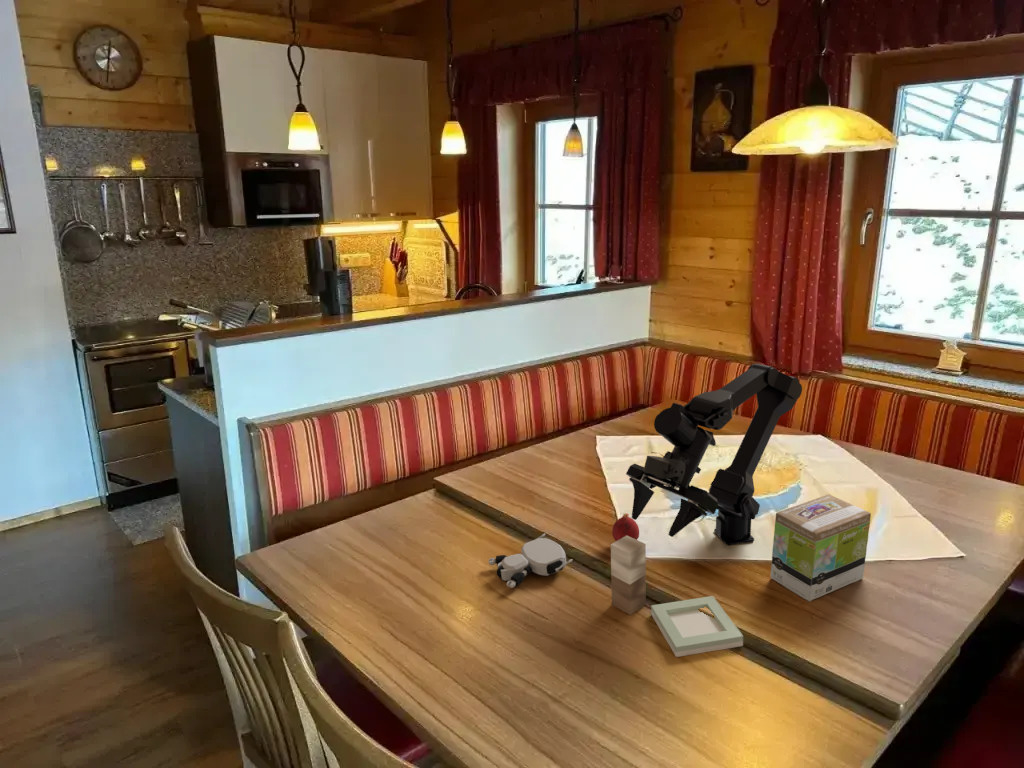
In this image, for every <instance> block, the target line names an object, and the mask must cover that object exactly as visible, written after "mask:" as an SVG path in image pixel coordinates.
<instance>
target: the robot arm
mask: <svg viewBox="0 0 1024 768" xmlns="http://www.w3.org/2000/svg"><path fill="white" fill-rule="evenodd" d="M802 392H803V386H802V384H801V383H800V380H799V378H798V377H796V376H791V375H788V374H785V373H783V372H782V371H779V370H778V369H777V368H775V367H773V366H772V365H771V366H770V365H765V364H761V363H753V364H750V366H749V367H748V369H747V370H746V371H744V372H743V373H741V374H740V375H738V376H737V377H735V378H733V380H731V381H729V382H728V383H726V384H725V385H724V386H722V387H721V388H719V389H717V390H712V391H711V390H710V391H705V392H701V393H699V394H698V395H695V396H694V397H692V398H691V399H690V401H688V402H687V403H686V404H684V405H682V404H680V403H676V402H673V403H672V404H671V406H670V407H668V408H665V409H663V410H661V411H660V412H659V413H658V414H656V417H655V418H654V422H653V425H654V426H653V427H654V429H655V431H656V433H658V434H659V435H660V436H661V437H662V438H664V439H665V440H666V441H667V442H668V443H670V444H671V445H673V446H674V447H673V449H672V451H668V450H667V451H666V452H665V453H664V456H662V457H661V456H657V455H656V456H654V455H646V459H645V463H644V466H642V465H639V464H637V463H633V464H631V465H629V467H628V469H627V471H626V473H625V475H627V476H628V477H629V479H628V480H629V481H630V482H631V484H632V486H633V492H634V493H633V504H632V512H631V518H632V519H633V520H634V521H635V520H637V519H638V518H639V517H640V515H641V514H642V512H643V511H644V509H645V508H646V506H647V504H648V503H649V502H650V501H651V499H652V497H653V495H654V494H655V491H654V490H653V489H654V488H659V489H662V490H664V491H667V492H669V493H671V494H674V495H676V496H679V497H681V498H680V508H679V510H678V512H677V514H676V517H675V518H674V520H673V522H672V524H671V527H670V529H669V531H668V533H667V534H668V536H669V537H671V538H673V537H674V536H676V535H677V534H678V533H680V531H682V530H683V529H684V528H686V527H687V526H688V525H689V524H691V523H692V522H694V521H695V520H697V519H699V518H700V517H702V516H705V517H707V515H708V513H710V514H712V515H715V513H716V511H717V510H718V512H717V513H718V514H717V516H716V517H715V528H714V530H713V531H714V533H715V534H716V535H717V536H718V537H719V538H720V540H721V541H722V542H723V544H725V545H727V546H730V545H737V544H743V543H751V542H754V541H755V537H753V536H752V535H751V532H752V531H751V530H752V520H755V519H756V516H757V515H758V514H759V512H760V508H761V505H760V503H759V502H758V501H757V500H756V499H755V498H754V497H753V496H754V494H755V484H754V478H753V477H754V474H755V472H756V469H757V467H758V465H759V463H760V461H761V460H762V459H761V458H762V457H763V455H764V452H765V450H766V448H767V445H768V443H769V441H770V439H771V437H772V435H773V432H774V430H775V428H776V426H777V424H778V421H779V419H780V418H781V417H782V416H783V415H784V414H786V413H788V412H789V411H790V410H792V409H793V408H794V406H795V405H796V403H797V401H798V399H800V397H801V395H802ZM753 396H756V401H757V408H756V411H755V413H754V414H753V416H752V418H751V421H750V424H749V426H748V428H747V429H746V432H745V434H744V437H742V441H741V443H740V445H739V447H738V448H737V452H736V454H735V455H734V458H733V460H732V463H730V466H728V467H726V468H725V469H723V468H719V469H718V470H717V471H716V473H715V476H714V479H713V480H712V481H711V483H710V487H709V489H708V491H707V490H705V489H702V488H700V487H697V486H694V485H692V484H691V482H692V480H693V478H694V476H695V474H700V473H701V470H702V468H701V467H699V465H700V464H701V462H702V460H703V457H704V455H705V454H706V451H707V449H708V447H709V446H712V447H715V446H716V443H717V442H716V439H715V437H714V432H713V431H710V430H716V431H720V430H721V429H723V428H724V427H725V426H726V425H727V424H728V423H729V422H730V421H731V420H732V419H733V415H734V411H735V410H736V409H737V408H738V407H740V406H741V405H742V404H744V403H745V402H746V401H747V400H749V399H750V398H752V397H753ZM702 427H703V428H702ZM704 428H706V429H704ZM707 429H709V430H707ZM690 484H691V485H690ZM677 488H678V489H677Z"/></svg>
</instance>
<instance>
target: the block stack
mask: <svg viewBox="0 0 1024 768" xmlns="http://www.w3.org/2000/svg"><path fill="white" fill-rule="evenodd" d="M646 547H647V546H646V543H644V542H643V541H640V540H639V539H637V540H636V539H634V538H632V537H629V536H625V537H623V538H621V539H619V540H618V541H614V542H613V543H611V544H610V573H611V578H610V579H611V583H610V584H611V605H612V606H613V607H615V608H617V609H618V610H621V611H622V612H625V613H626V614H627V615H629V616H631V615H633V614H634V613H636V612H637V611H639V610H641V608H643V607H644V606H646V603H647V599H646V598H647V597H646V595H647V588H646V587H647V586H646V585H647V583H646V582H647V581H646V580H647V579H646V578H647V576H646V572H647V569H646V568H647V567H646V566H647V565H646V564H647V563H646V559H647V557H646V553H647V551H646V549H647V548H646Z"/></svg>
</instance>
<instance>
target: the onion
mask: <svg viewBox="0 0 1024 768" xmlns="http://www.w3.org/2000/svg"><path fill="white" fill-rule="evenodd" d="M612 525H613V526H612V531H611V534H612V538H613V539H614V542H616V541H618V540H619V539H621V538H623V537H625V536H629V537H632V538H634V539H636V540H639V537H640V527H639V524H638V523H637V521H635V520H634V519H633V518H632V517H630V515H629V513H626V512H625V513H623V514H622V516H621V517H620V518H618V519H617V520H616V521H615V522H614V524H612Z"/></svg>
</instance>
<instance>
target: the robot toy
mask: <svg viewBox="0 0 1024 768" xmlns="http://www.w3.org/2000/svg"><path fill="white" fill-rule="evenodd" d="M545 536H546V533H543V534H541V535H540V536H538V537H537V538H535V539H533V540H530V541H527V542H525V543H524V544H523V546H521V550H520V552H521V553H516V554H512V555H505V554H503V555H502V554H501V555H500V554H499V555H495V558H494V557H491V558H488V565H490V566H494V565H496V566H497V569H496V573H495V574H496V576H497V577H498V578H499V579H501V581H504V582H505V581H507V582H506V586H507V587H509V588H514V587H518V586H519V585H520V584H522V583H523V582H524V579H525V577H526V576H527V575H528V576H529V575H530V574H532V572H533V573H534V574H537V575H539V576H547V577H548V576H550V575H554V574H556V573H558V572H560V571H563V569H565V567H566V566H567V565H568V564H570V563H572V562H573V560H574V559H572V558H571V559H569V560H568V561H567V555H566V552H565V550H564V548H563V547H562V546H561V545H560V544H559V543H557V542H556V541H554V540H552V539H550V538H547V537H545Z"/></svg>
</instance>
